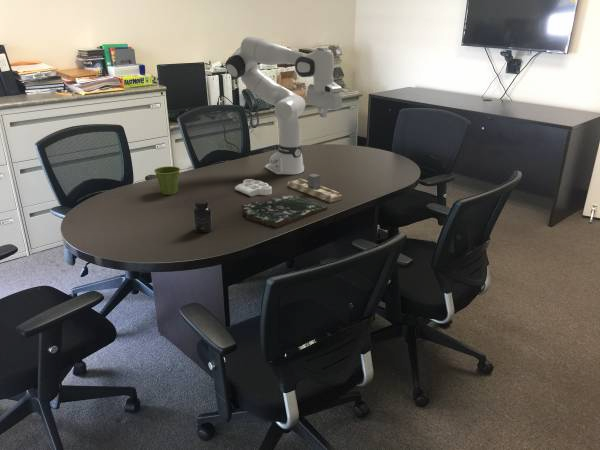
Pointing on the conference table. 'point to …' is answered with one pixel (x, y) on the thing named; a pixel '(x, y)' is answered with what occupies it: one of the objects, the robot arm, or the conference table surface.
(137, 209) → the conference table surface
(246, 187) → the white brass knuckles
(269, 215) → the floral canvas painting
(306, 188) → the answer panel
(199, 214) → the supplement bottle
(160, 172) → the plant pot
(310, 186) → the grey rectangular block
